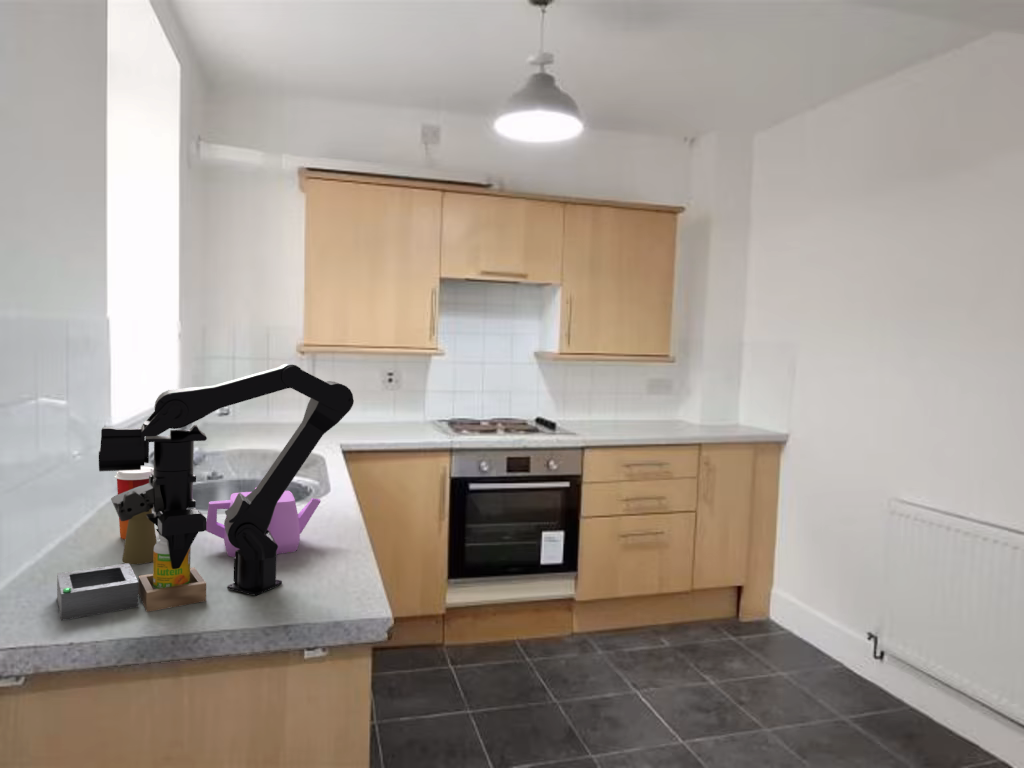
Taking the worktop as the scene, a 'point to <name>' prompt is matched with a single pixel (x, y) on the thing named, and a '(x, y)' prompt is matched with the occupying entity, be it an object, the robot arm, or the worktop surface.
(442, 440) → the worktop surface
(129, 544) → the cork
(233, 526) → the robot arm
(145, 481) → the paper cup
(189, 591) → the wooden box
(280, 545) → the teakettle
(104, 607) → the port
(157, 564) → the supplement bottle
